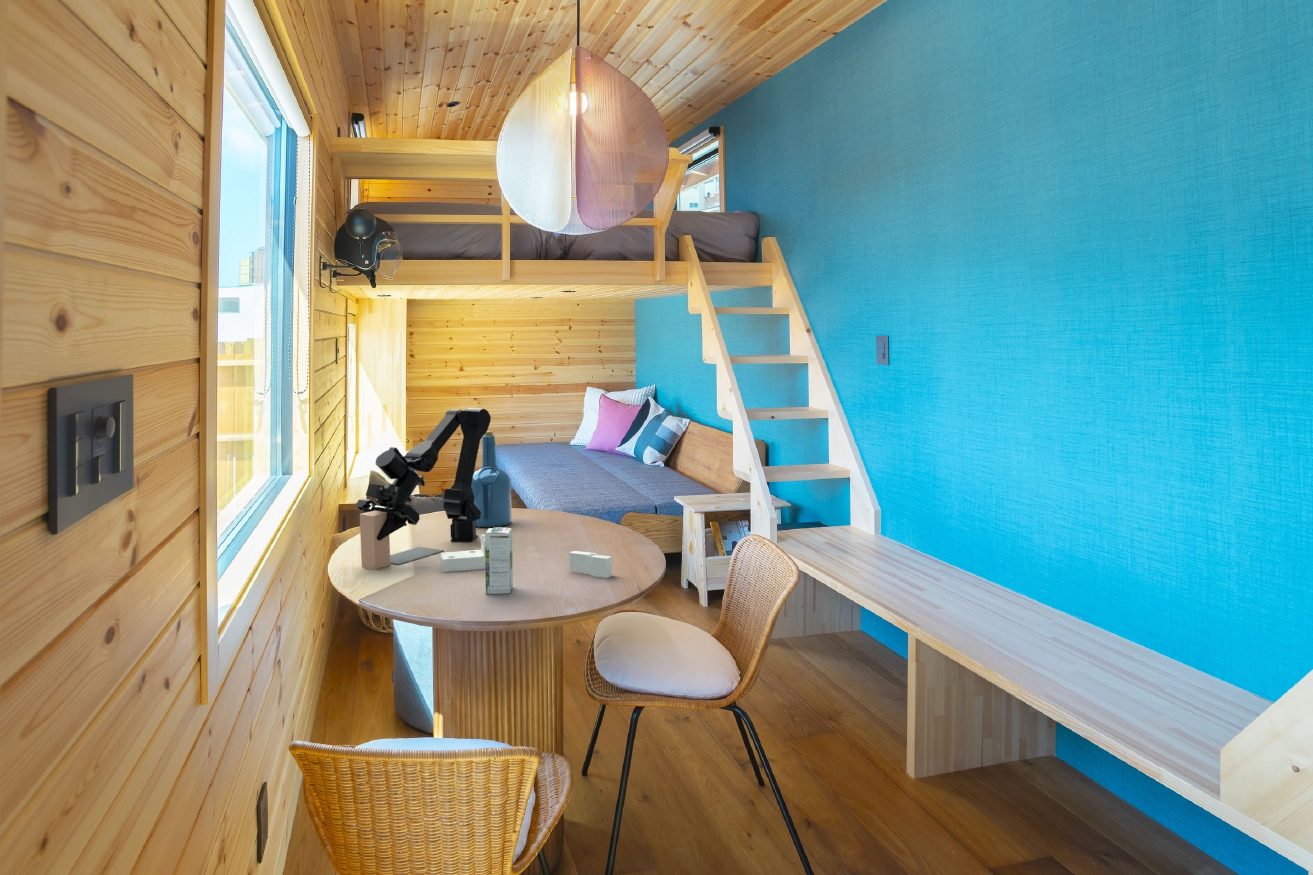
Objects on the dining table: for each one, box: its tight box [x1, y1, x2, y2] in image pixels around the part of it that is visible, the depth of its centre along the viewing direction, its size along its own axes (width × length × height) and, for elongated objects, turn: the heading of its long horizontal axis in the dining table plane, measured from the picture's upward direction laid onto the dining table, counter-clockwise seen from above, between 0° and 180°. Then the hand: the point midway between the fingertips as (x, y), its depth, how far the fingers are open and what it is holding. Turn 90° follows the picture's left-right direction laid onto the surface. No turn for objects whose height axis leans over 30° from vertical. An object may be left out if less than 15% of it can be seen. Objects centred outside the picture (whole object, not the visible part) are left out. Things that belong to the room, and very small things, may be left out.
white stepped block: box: [568, 550, 613, 579], centre depth 204 cm, size 15×11×6 cm
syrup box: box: [484, 526, 514, 595], centre depth 190 cm, size 6×6×14 cm
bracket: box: [440, 533, 486, 573], centre depth 212 cm, size 13×7×8 cm, turn 108°
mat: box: [390, 546, 444, 566], centre depth 223 cm, size 16×9×1 cm, turn 151°
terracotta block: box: [359, 511, 391, 570], centre depth 212 cm, size 5×5×14 cm
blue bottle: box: [471, 430, 513, 528], centre depth 260 cm, size 14×13×30 cm
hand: (370, 538), depth 210 cm, fingers closed on terracotta block, 5 cm apart
